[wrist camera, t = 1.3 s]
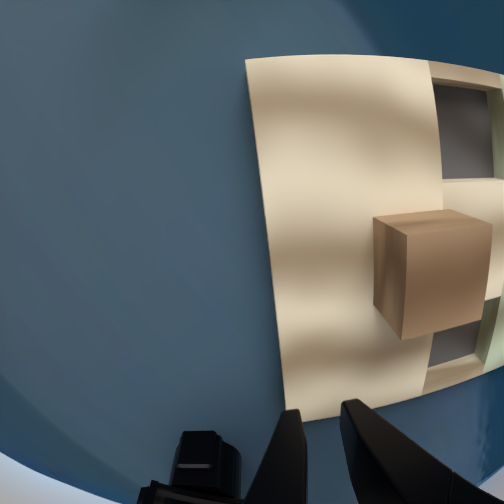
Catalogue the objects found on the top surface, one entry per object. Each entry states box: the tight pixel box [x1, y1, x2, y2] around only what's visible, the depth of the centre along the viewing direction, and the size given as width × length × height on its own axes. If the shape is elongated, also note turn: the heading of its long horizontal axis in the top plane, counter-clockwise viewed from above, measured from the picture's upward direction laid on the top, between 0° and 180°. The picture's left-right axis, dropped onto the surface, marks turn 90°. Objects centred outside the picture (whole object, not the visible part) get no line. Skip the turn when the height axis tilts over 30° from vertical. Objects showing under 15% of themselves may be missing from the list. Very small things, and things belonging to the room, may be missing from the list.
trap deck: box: [245, 55, 504, 422], centre depth 17 cm, size 22×26×2 cm
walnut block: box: [373, 209, 493, 341], centre depth 15 cm, size 5×5×4 cm
